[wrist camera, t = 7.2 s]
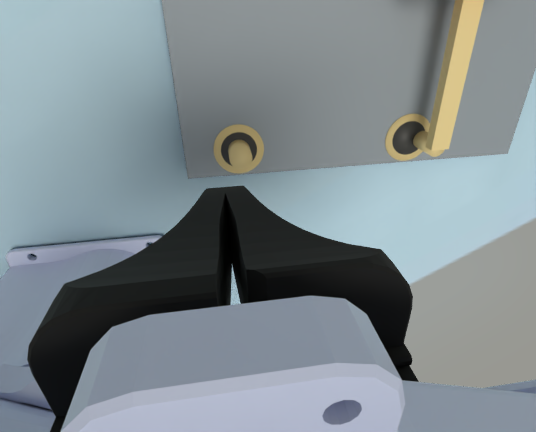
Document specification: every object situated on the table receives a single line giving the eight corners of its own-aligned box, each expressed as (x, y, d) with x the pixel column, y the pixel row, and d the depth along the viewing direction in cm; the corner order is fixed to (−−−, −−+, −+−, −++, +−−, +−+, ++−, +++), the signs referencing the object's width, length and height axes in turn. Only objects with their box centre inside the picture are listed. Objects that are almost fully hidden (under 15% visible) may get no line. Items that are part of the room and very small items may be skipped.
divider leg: (379, 150, 20) (405, 170, 17) (420, -148, 14) (470, -189, 11) (459, 144, 21) (496, 163, 18) (532, -145, 15) (606, -184, 12)
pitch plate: (188, 171, 21) (186, 189, 18) (141, -158, 14) (128, -191, 12) (496, 148, 23) (526, 161, 21) (586, -144, 16) (644, -170, 14)
